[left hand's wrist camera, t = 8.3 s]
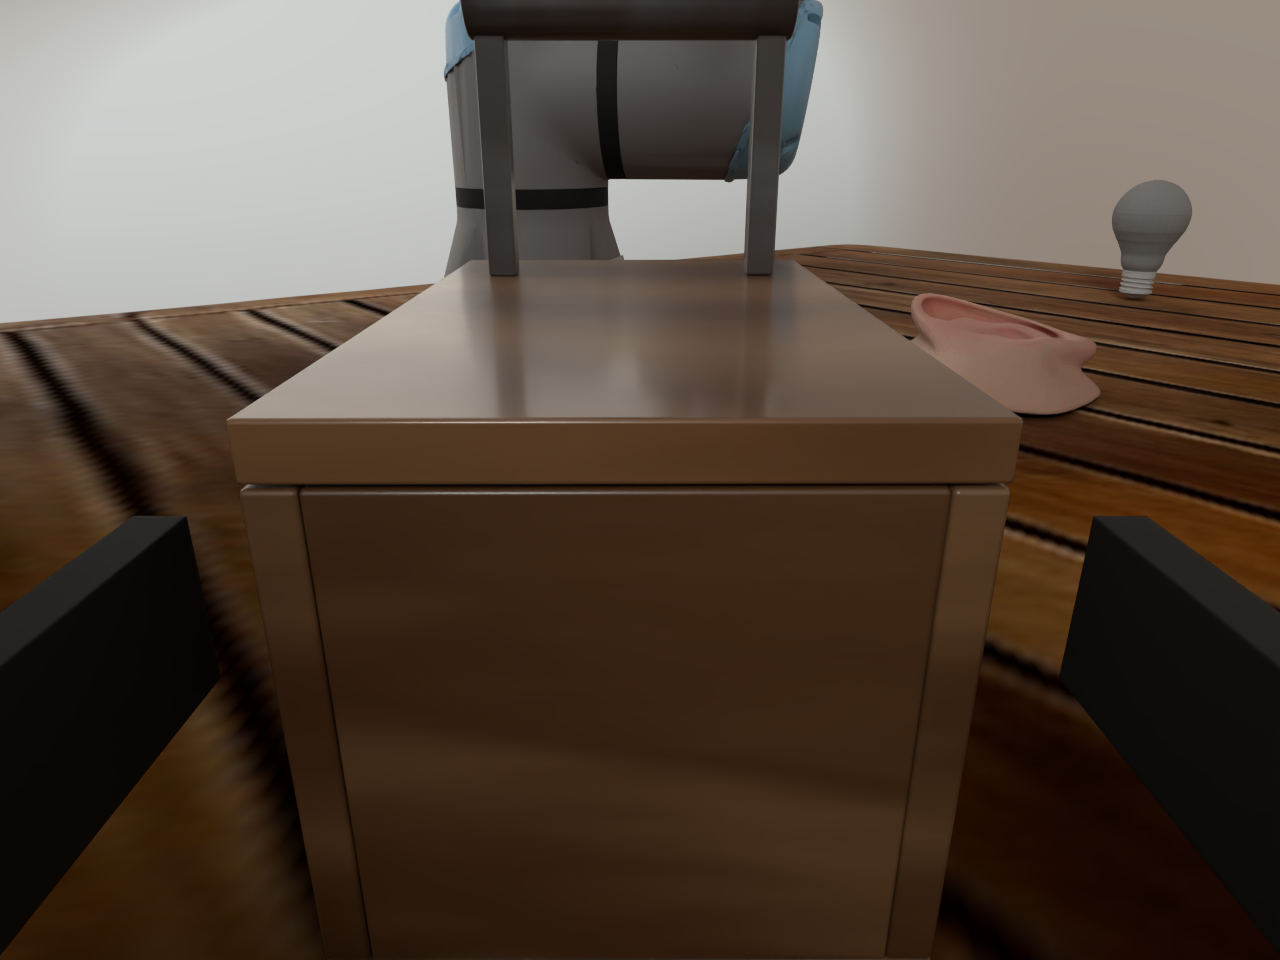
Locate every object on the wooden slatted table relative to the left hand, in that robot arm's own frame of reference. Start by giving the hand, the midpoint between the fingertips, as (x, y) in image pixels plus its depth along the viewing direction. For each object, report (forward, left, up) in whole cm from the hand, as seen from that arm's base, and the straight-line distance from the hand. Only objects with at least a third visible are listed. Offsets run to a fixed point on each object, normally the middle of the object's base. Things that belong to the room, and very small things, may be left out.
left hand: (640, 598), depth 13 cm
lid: (-5, +4, +2) cm, 7 cm away
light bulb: (-22, +77, -7) cm, 80 cm away
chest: (-5, +4, -7) cm, 9 cm away
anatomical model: (-15, +39, -7) cm, 42 cm away
